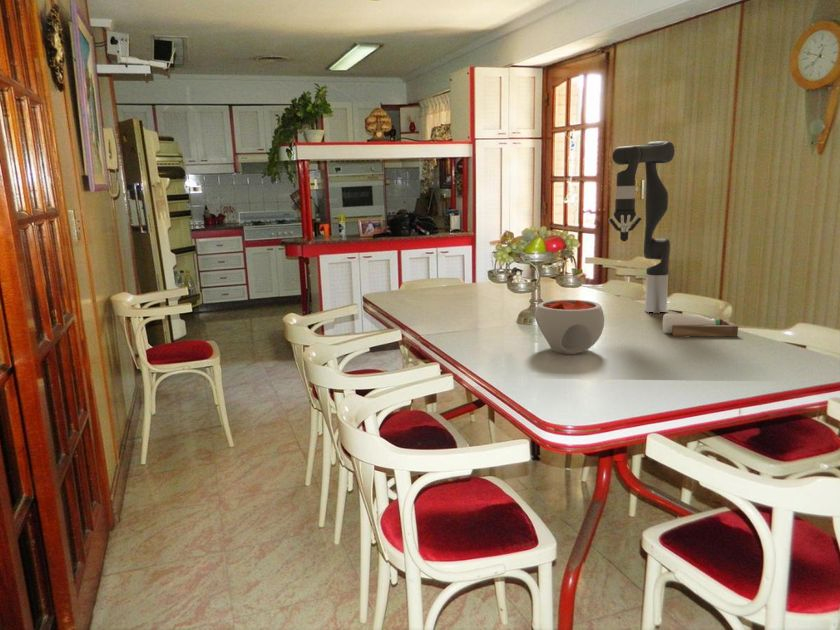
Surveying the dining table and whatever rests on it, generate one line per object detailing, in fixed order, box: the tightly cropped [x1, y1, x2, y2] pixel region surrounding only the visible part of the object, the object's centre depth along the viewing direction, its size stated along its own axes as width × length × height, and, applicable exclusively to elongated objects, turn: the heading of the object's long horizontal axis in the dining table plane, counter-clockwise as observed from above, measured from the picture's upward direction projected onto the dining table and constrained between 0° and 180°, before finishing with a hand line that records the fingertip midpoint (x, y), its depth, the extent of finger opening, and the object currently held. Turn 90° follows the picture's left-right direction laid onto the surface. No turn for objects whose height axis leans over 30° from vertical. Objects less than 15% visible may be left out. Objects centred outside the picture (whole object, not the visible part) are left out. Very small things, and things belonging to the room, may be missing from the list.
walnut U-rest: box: [671, 317, 739, 338], centre depth 245 cm, size 15×23×4 cm, turn 82°
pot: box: [534, 299, 605, 355], centre depth 222 cm, size 24×24×18 cm
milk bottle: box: [662, 313, 720, 334], centre depth 243 cm, size 8×8×20 cm
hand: (623, 241), depth 254 cm, fingers closed
